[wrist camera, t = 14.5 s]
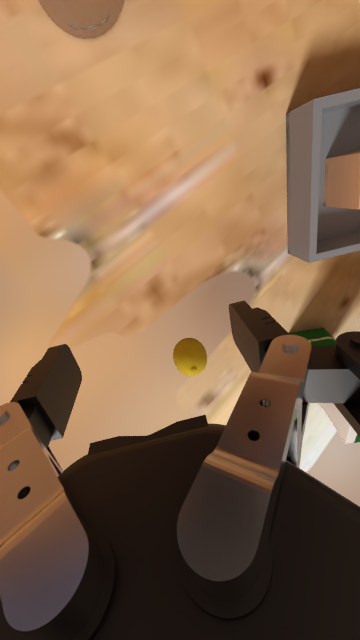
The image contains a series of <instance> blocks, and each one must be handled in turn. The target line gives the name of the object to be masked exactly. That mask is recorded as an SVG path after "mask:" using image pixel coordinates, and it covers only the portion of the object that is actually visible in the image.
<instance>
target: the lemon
mask: <svg viewBox="0 0 360 640" xmlns="http://www.w3.org/2000/svg"><path fill="white" fill-rule="evenodd" d="M173 358H174V363H175V365H176V367H177V369H178V370H179V371H180V372H181V373H183V374H184V375H187V376H195V375H198V374H199V373H201V372H202V371H203V370H204V368H205V366H206V363H207V354H206V350H205V348H204V346H203V345H202V344H201V343H200V342H199V341H198V340H196V339H193V338H185V339H183V340H181V341H180V342H178V344H177V345H176V346H175V348H174V352H173Z"/></svg>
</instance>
